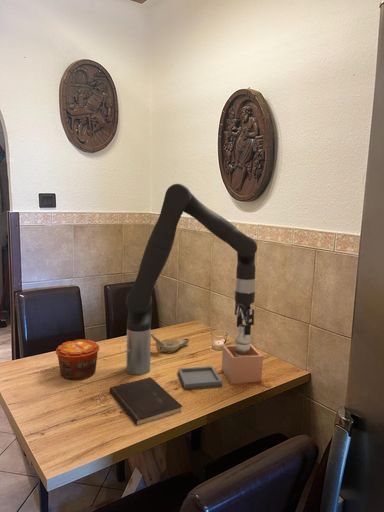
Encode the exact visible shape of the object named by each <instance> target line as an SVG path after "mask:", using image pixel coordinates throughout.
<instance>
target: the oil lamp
mask: <svg viewBox="0 0 384 512" xmlns="http://www.w3.org/2000/svg"><path fill="white" fill-rule="evenodd" d="M151 337H152V339H153V341H155V346H156V351H157V352H159V353H161V352H164V353H168V352H171V353H174V352H176V351H177V350H178V349H179V348H180V347H182V346H185V345H187V344H188V343H189V342H190V339H189V338H180V339H173V338H169V339H168V338H167V339H163V340H161V339H159V338H158V337H156V336H155V335H154V334H153V333H151Z"/></svg>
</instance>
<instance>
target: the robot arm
mask: <svg viewBox="0 0 384 512" xmlns="http://www.w3.org/2000/svg"><path fill="white" fill-rule="evenodd" d="M164 194H165V195H164V198H163V202H162V206H161V209H160V213H159V216H158V218H157V221H156V223H155V224H154V227H153V229H152V231H151V234H150V235H149V238H148V241H147V243H146V246H145V249H144V252H143V254H142V259H141V261H140V266H139V268H138V272H137V276H136V278H135V280H134V282H133V285H132V287H131V288H130V291H129V292H128V294H127V296H126V299H125V304H126V305H125V306H126V308H127V309H128V311H127V313H128V314H127V319H126V320H127V321H126V346H125V347H126V348H125V349H126V351H125V352H126V355H125V356H126V359H125V360H126V374H131V375H145V374H148V373H149V372H150V370H151V346H152V345H151V337H152V336H151V334H152V332H151V328H152V327H151V326H152V317H153V316H152V315H153V297H152V296H153V295H152V294H153V291H154V287H155V286H156V282H157V280H158V279H159V277H160V275H161V273H162V271H163V270H164V268H165V266H166V264H167V262H168V259H169V257H170V254H171V252H172V248H173V245H174V241H175V238H176V234H177V233H176V232H177V228H178V225H179V222H180V219H181V217H182V215H183V213H185V214H187V215H188V216H190V217H192V218H194V219H195V220H196V221H197V222H199V223H200V224H201V225H202V226H203V227H204V228H206V229H207V230H208V231H209V232H210V233H212V234H213V235H214V236H216V237H217V238H218V239H219V240H221V241H222V242H224V243H225V244H227V245H228V246H230V247H231V248H232V249H233V250H234V251H236V256H237V260H236V261H237V264H236V274H235V276H236V277H235V284H234V286H235V287H234V301H235V302H234V304H235V307H234V315H235V318H236V327H237V328H238V329H239V325H242V324H243V325H245V328H244V334H245V335H250V336H251V331H252V330H251V329H252V328H251V327H252V326H254V324H255V309H254V308H251V305H252V304H254V303H255V301H256V265H255V264H256V263H255V262H256V261H255V258H256V253H257V250H258V245H257V243H256V241H255V240H254V239H253V238H252V237H250V236H248V235H246V234H245V233H243V232H242V231H241V230H239V228H237V227H236V226H235V225H234V224H232V223H231V222H230V221H228V219H226V218H225V217H223V216H222V215H220V214H218V213H217V212H215V211H214V210H212V209H210V208H209V207H207V206H206V205H205V204H204V203H202V201H200V200H199V199H198V198H197V197H196V196H195V195H194V194H193V193H192V192H191V191H190V190H189V188H188V187H187V186H186V185H184V184H182V183H174V184H172V185H170V186H169V187H168V188H167V189H166V191H165V193H164Z"/></svg>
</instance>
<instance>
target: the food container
mask: <svg viewBox="0 0 384 512" xmlns="http://www.w3.org/2000/svg"><path fill="white" fill-rule="evenodd" d="M99 351H100V345H99V344H98V343H96V341H93V340H91V339H90V340H89V339H87V340H86V339H75V340H72V341H71V340H68V341H65V342H63V343H61V344H59V345H58V347H57V348H56V350H55V353H56V355H57V360H58V365H59V370H60V376H61V377H62V378H63V379H64V380H67V381H79V380H85V379H88V378H91V377H92V376H94V375H95V373H96V370H97V363H98V362H97V361H98V354H99Z"/></svg>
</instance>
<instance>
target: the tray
mask: <svg viewBox="0 0 384 512" xmlns="http://www.w3.org/2000/svg"><path fill="white" fill-rule="evenodd" d="M177 369H178V370H177V374H178V376H179V379H180V382H181V384H182V386H183V389H184V390H195V389H206V388H207V389H208V388H217V387H218V388H219V387H223V379H222V378H221V376H220V375H219V374H218V372H217V370H216V368H215V367H214V366H213V365H208V366H195V367H194V366H193V367H180V368H177Z"/></svg>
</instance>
